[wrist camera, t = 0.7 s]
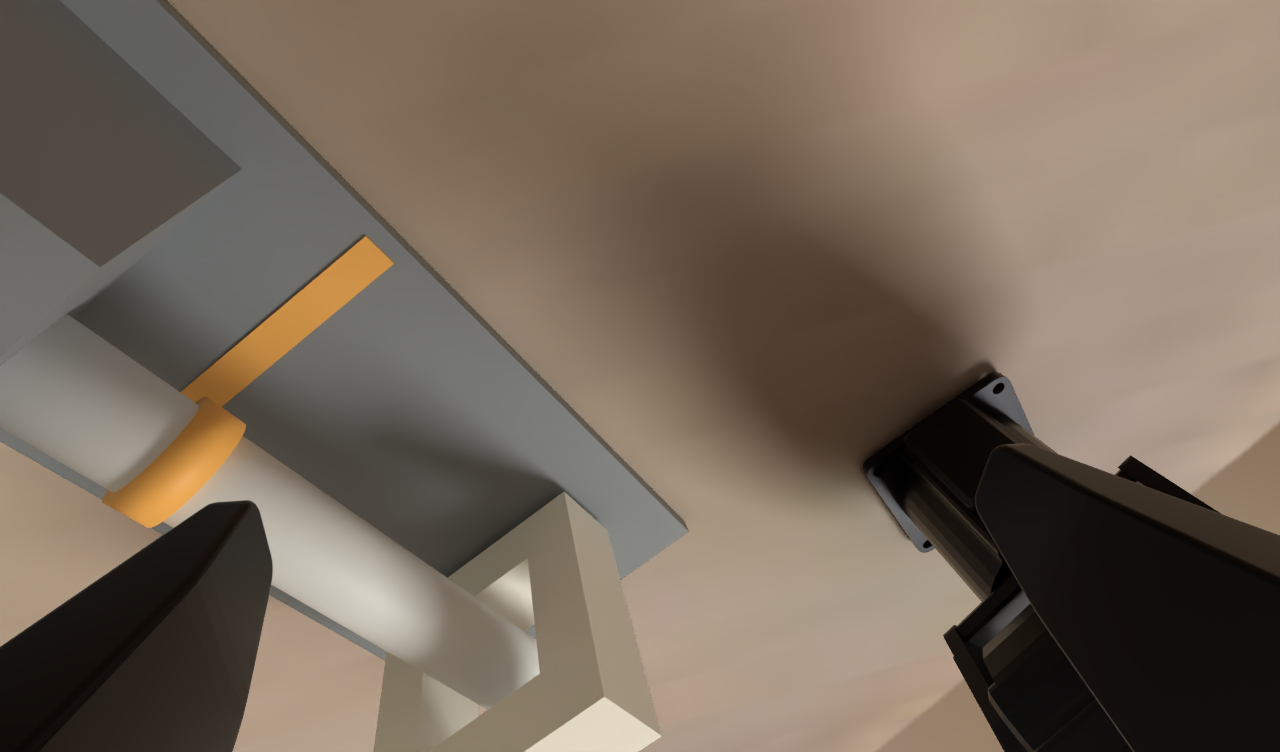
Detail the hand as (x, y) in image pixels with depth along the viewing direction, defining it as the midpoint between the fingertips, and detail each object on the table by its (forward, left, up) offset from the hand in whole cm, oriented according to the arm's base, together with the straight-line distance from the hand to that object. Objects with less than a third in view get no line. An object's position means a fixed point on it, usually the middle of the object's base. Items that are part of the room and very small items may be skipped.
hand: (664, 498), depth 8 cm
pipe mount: (0, +10, -13) cm, 16 cm away
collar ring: (-9, +10, -13) cm, 18 cm away
